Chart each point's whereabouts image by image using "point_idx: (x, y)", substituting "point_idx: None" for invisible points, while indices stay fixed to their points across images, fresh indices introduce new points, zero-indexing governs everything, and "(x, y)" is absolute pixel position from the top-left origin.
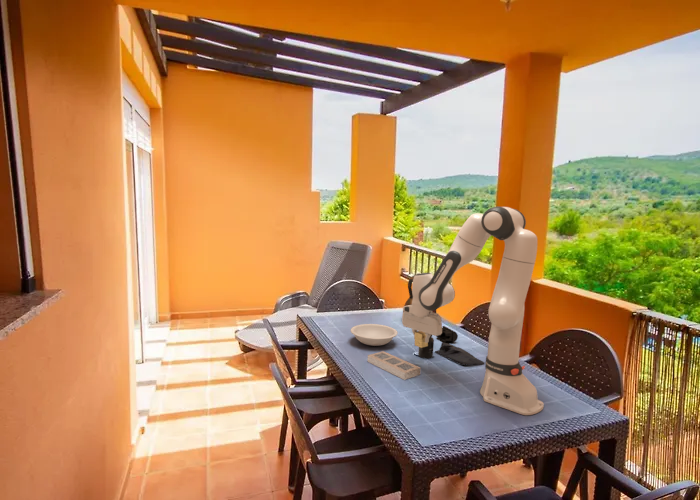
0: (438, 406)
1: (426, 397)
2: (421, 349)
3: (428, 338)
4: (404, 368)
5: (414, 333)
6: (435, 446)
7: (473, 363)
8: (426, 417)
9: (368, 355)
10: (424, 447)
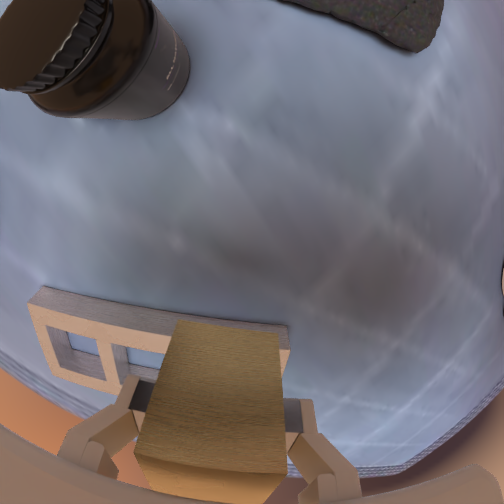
0: (410, 412)
1: (375, 411)
2: (112, 118)
3: (318, 438)
4: None
5: (121, 447)
6: (416, 456)
7: (439, 21)
8: (394, 442)
9: (55, 375)
10: (403, 464)
